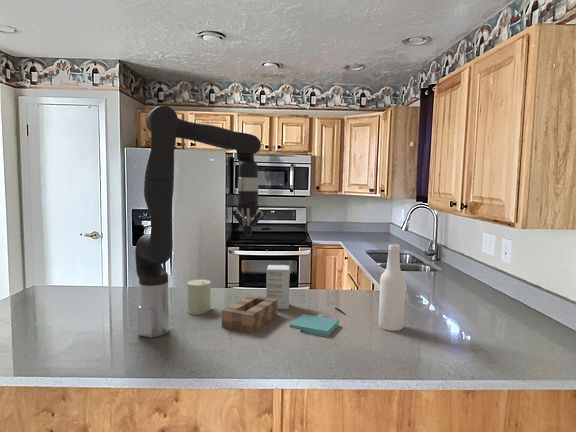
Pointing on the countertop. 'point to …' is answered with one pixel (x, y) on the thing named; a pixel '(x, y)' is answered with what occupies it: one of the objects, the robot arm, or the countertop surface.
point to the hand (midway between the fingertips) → (247, 235)
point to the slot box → (249, 313)
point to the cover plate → (315, 325)
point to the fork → (335, 307)
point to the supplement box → (278, 284)
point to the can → (199, 296)
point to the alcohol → (392, 293)
